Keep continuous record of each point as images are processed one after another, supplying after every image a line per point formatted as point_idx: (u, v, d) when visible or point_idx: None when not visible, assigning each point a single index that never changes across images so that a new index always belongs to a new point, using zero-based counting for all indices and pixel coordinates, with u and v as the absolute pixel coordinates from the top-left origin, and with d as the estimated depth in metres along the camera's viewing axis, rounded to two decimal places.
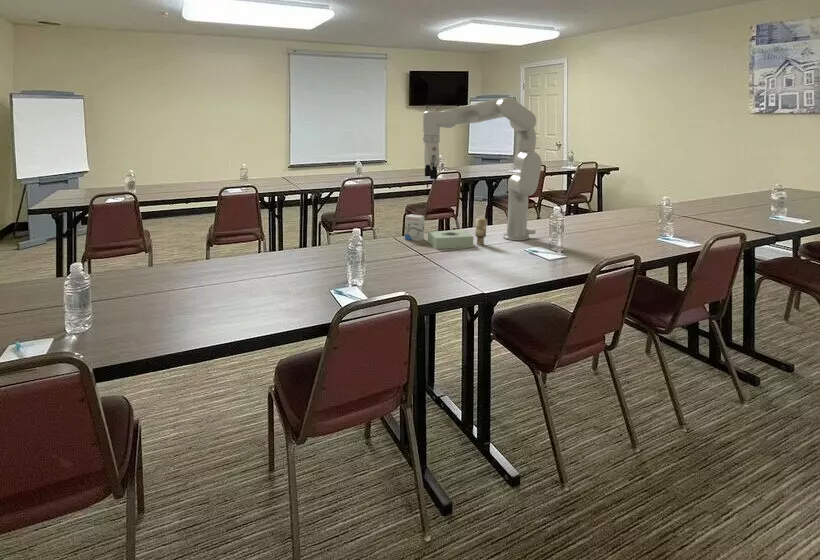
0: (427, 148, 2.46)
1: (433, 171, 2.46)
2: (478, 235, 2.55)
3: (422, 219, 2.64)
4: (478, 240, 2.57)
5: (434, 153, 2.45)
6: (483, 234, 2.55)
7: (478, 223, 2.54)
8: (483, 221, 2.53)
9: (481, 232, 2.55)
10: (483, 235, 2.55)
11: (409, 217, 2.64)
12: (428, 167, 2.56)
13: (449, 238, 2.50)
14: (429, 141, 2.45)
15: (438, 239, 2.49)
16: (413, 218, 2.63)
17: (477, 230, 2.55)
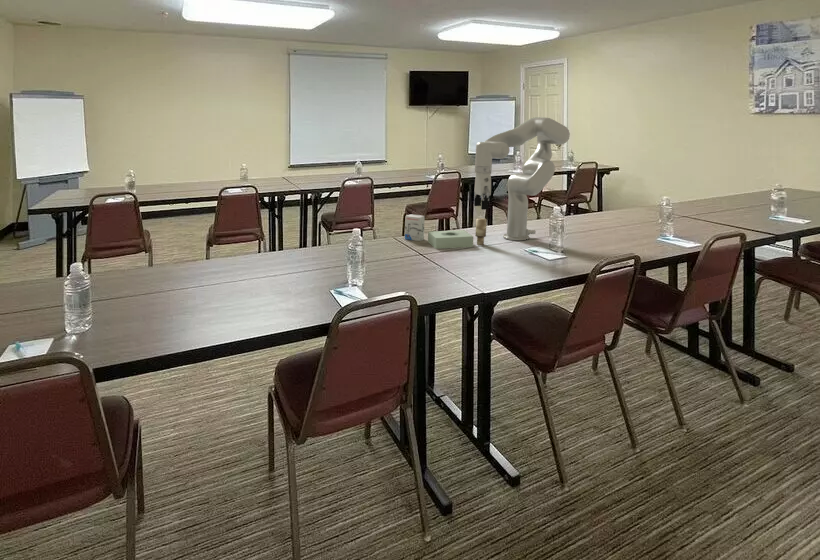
0: (479, 179, 2.47)
1: (485, 202, 2.47)
2: (478, 235, 2.55)
3: (422, 219, 2.64)
4: (478, 240, 2.57)
5: (486, 184, 2.45)
6: (483, 234, 2.55)
7: (478, 223, 2.54)
8: (483, 221, 2.53)
9: (481, 232, 2.55)
10: (483, 235, 2.55)
11: (409, 217, 2.64)
12: (478, 197, 2.56)
13: (449, 238, 2.50)
14: (482, 172, 2.45)
15: (438, 239, 2.49)
16: (413, 218, 2.63)
17: (477, 230, 2.55)
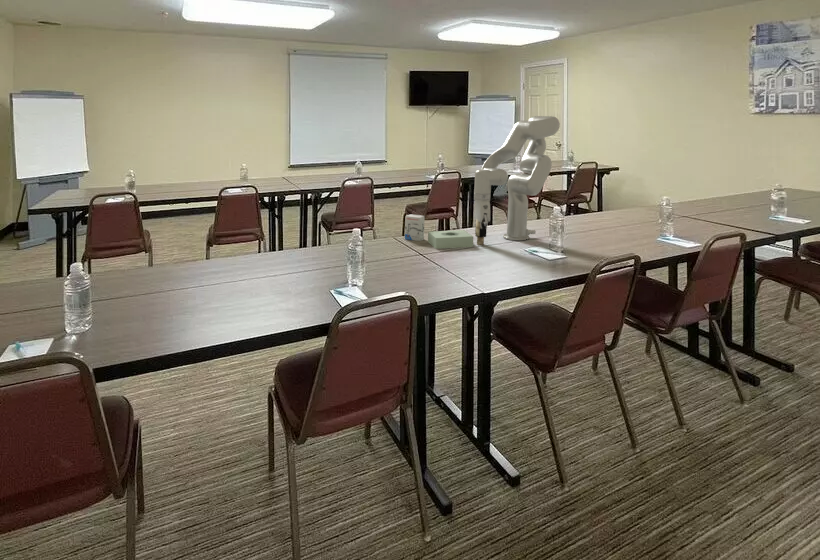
0: (478, 206, 2.50)
1: (483, 230, 2.53)
2: (478, 235, 2.55)
3: (422, 219, 2.64)
4: (478, 240, 2.57)
5: (485, 211, 2.49)
6: None
7: (478, 223, 2.54)
8: (483, 221, 2.53)
9: None
10: None
11: (409, 217, 2.64)
12: None
13: (449, 238, 2.50)
14: (481, 199, 2.49)
15: (438, 239, 2.49)
16: (413, 218, 2.63)
17: (477, 230, 2.55)
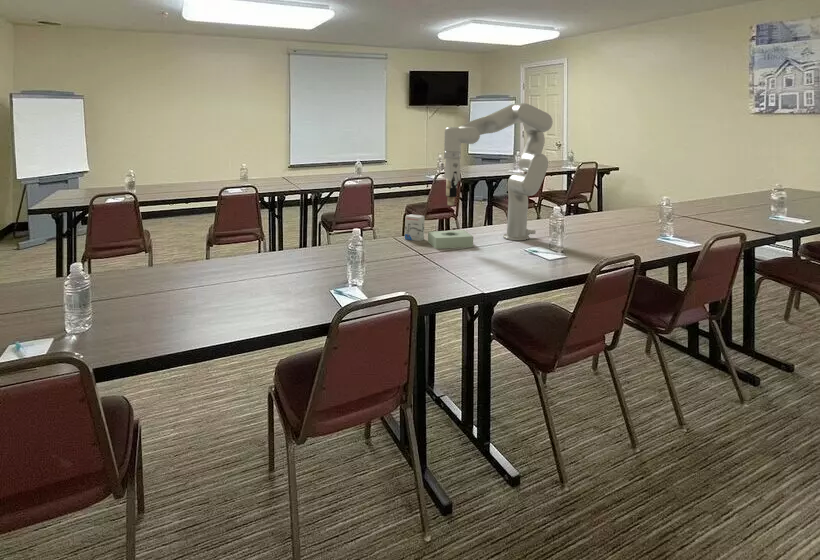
0: (448, 164, 2.45)
1: (453, 189, 2.47)
2: (448, 195, 2.50)
3: (422, 219, 2.64)
4: (448, 200, 2.51)
5: (455, 169, 2.43)
6: None
7: (448, 182, 2.48)
8: (453, 180, 2.47)
9: None
10: None
11: (409, 217, 2.64)
12: None
13: (449, 238, 2.50)
14: (450, 157, 2.43)
15: (438, 239, 2.49)
16: (413, 218, 2.63)
17: (447, 190, 2.49)
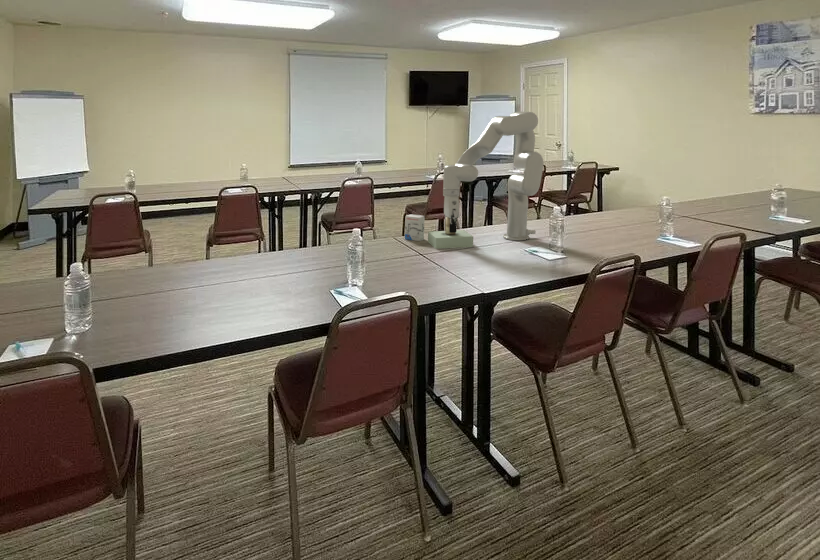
0: (447, 201, 2.50)
1: (452, 225, 2.51)
2: (447, 233, 2.55)
3: (422, 219, 2.64)
4: None
5: (454, 207, 2.48)
6: None
7: (447, 221, 2.53)
8: (452, 219, 2.53)
9: None
10: (452, 233, 2.55)
11: (409, 217, 2.64)
12: None
13: (449, 238, 2.50)
14: (449, 195, 2.48)
15: (438, 239, 2.49)
16: (413, 218, 2.63)
17: (446, 228, 2.55)
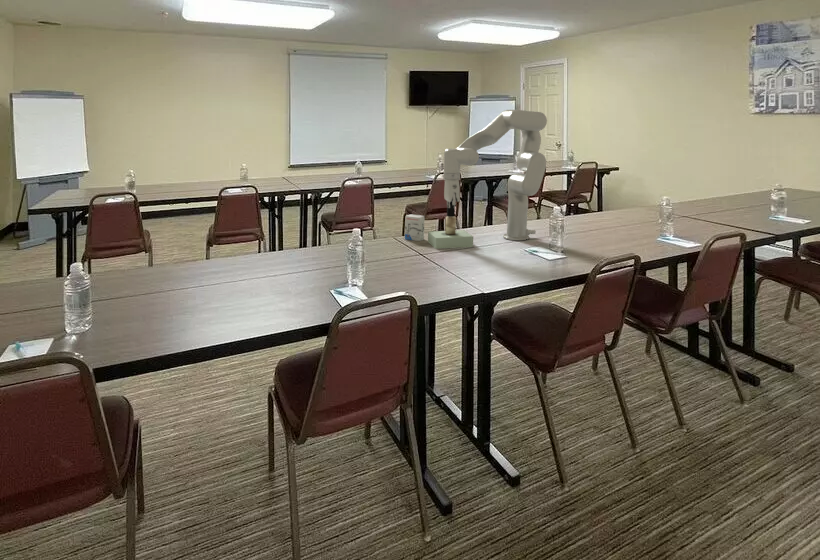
0: (448, 185, 2.47)
1: (451, 209, 2.52)
2: (447, 233, 2.55)
3: (422, 219, 2.64)
4: None
5: (455, 190, 2.46)
6: (452, 232, 2.55)
7: (447, 221, 2.53)
8: (452, 219, 2.53)
9: (450, 230, 2.54)
10: (452, 233, 2.55)
11: (409, 217, 2.64)
12: None
13: (449, 238, 2.50)
14: (450, 179, 2.46)
15: (438, 239, 2.49)
16: (413, 218, 2.63)
17: (446, 228, 2.55)
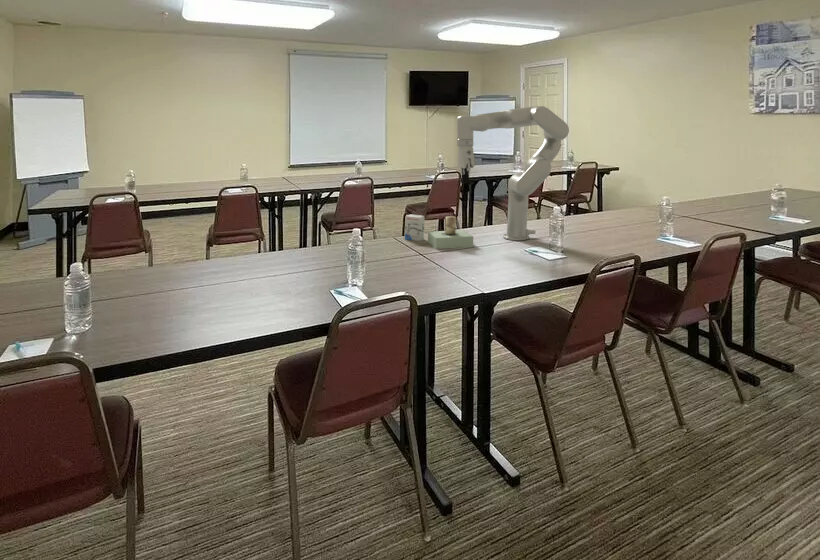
0: (462, 152, 2.54)
1: (465, 175, 2.58)
2: (447, 233, 2.55)
3: (422, 219, 2.64)
4: None
5: (469, 156, 2.52)
6: (452, 232, 2.55)
7: (447, 221, 2.53)
8: (452, 219, 2.53)
9: (450, 230, 2.54)
10: (452, 233, 2.55)
11: (409, 217, 2.64)
12: None
13: (449, 238, 2.50)
14: (464, 145, 2.52)
15: (438, 239, 2.49)
16: (413, 218, 2.63)
17: (446, 228, 2.55)
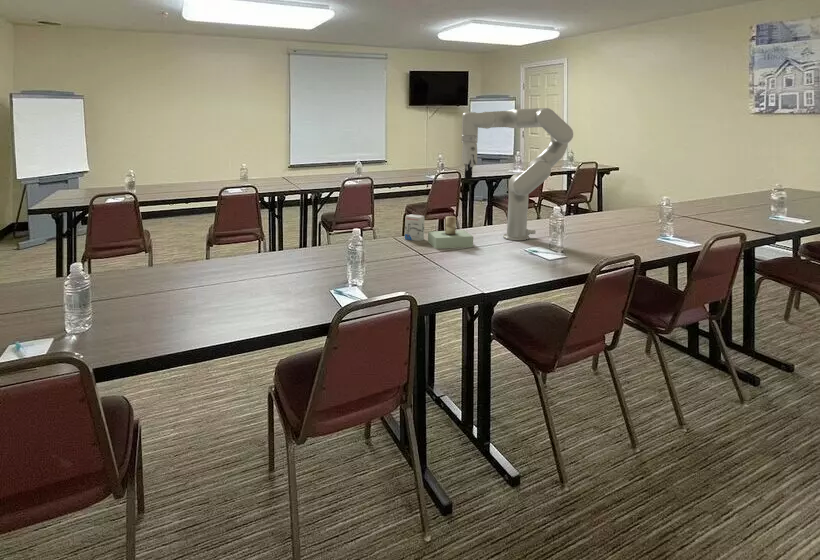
0: (466, 148, 2.57)
1: (468, 171, 2.61)
2: (447, 233, 2.55)
3: (422, 219, 2.64)
4: None
5: (473, 152, 2.55)
6: (452, 232, 2.55)
7: (447, 221, 2.53)
8: (452, 219, 2.53)
9: (450, 230, 2.54)
10: (452, 233, 2.55)
11: (409, 217, 2.64)
12: None
13: (449, 238, 2.50)
14: (468, 141, 2.55)
15: (438, 239, 2.49)
16: (413, 218, 2.63)
17: (446, 228, 2.55)
